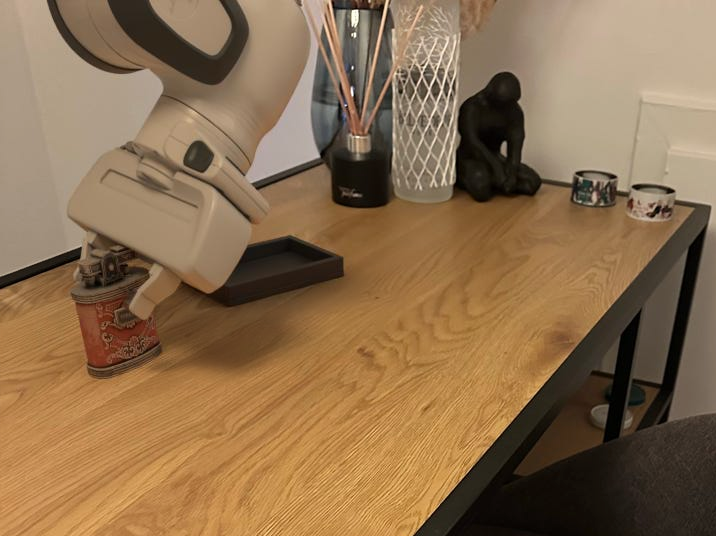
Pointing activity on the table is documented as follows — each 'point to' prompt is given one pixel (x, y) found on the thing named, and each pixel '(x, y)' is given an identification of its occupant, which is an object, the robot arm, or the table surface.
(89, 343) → the lighter
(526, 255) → the table surface
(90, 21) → the robot arm
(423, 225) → the table surface
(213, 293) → the dark serving tray
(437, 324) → the table surface
